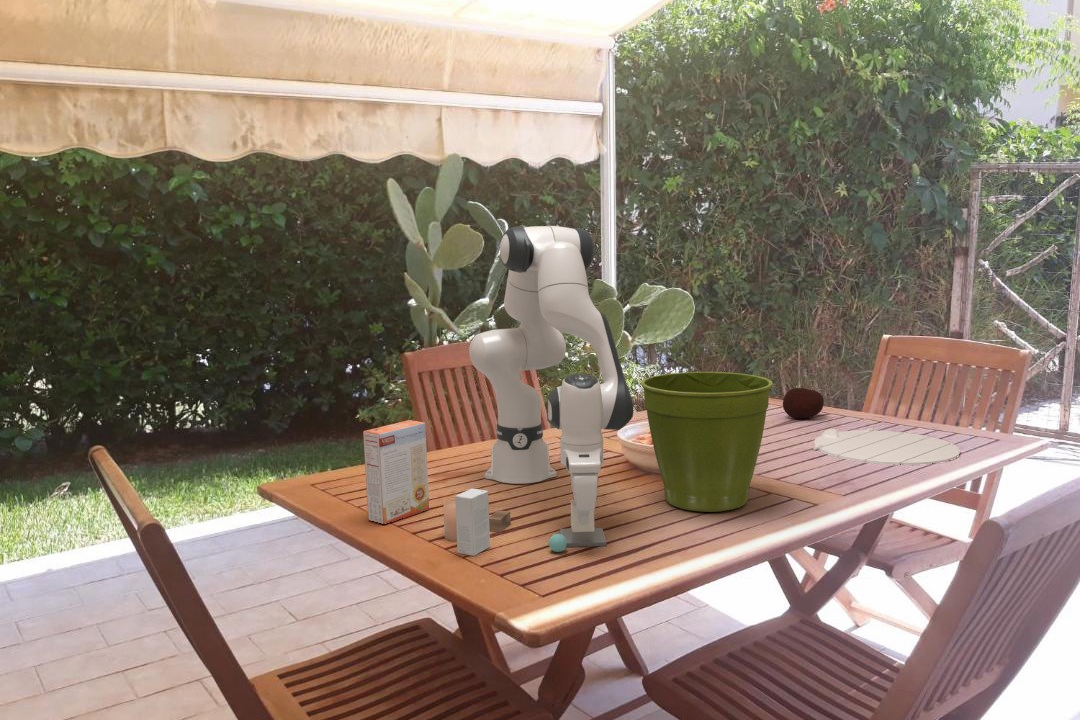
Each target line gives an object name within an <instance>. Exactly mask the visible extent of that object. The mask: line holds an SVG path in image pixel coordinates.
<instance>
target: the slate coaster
mask: <svg viewBox="0 0 1080 720" xmlns="http://www.w3.org/2000/svg"><path fill="white" fill-rule="evenodd" d="M559 534H561V535H563V536H564V537H565V538H566V540H567V546H566V548H574V547H575V548H581V546H587V547H606V546H607V540H606V537H605V532H604V530H603V527H594V532H572V528H559ZM605 545H606V546H605ZM579 546H580V547H579Z"/></svg>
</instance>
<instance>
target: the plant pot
mask: <svg viewBox="0 0 1080 720" xmlns="http://www.w3.org/2000/svg"><path fill="white" fill-rule="evenodd" d="M640 385H641V387H642V388H643V394H644V395H643V400H644V408H645V409H646V413H647V414H646V416H647V420H648V427H649V430H650V437H651V441H652V447H653V449H654V455H655V458H656V462H657V466H658V468H659V469H658V470H659V472H660V477H661V479H662V484H663V487H664V499H665V501H666V502H667V503H668V504H670V505H672V506H674V507H676V508H678V509H682V510H686V511H693V512H694V511H695V512H707V513H708V512H709V513H712V512H713V513H714V512H715V513H716V512H717V513H718V512H727V511H731V510H736V509H738V508H741V507H742V506H744V505H746V503H748V501H749V493H750V492H749V490H750V489H749V488H750V485H751V482H752V479H753V475H754V471H755V468H756V464H757V461H758V456H759V453H760V450H761V444H762V440H763V435H764V429H765V423H766V416H767V409H768V408H769V403H770V402H769V401H770V398H769V397H770V389H771V388H772V387H773V381H772V380H771V379H769V378H766V377H763V376H761V375H760V376H759V375H755V374H748V373H747V374H746V373H737V372H727V371H726V372H723V371H690V372H687V371H686V372H685V371H684V372H675V373H673V372H671V373H664V374H663V373H662V374H657V375H653V376H649V377H646V378H644V379H642V380H641V382H640Z"/></svg>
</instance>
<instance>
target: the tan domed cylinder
mask: <svg viewBox="0 0 1080 720" xmlns="http://www.w3.org/2000/svg"><path fill="white" fill-rule="evenodd" d="M443 525H444V526H443V527H444V528H443V529H444V530H443V531H444V535H443V536H444V539H445V540H447V541H448V542H449V541H450V542H456V543H457V529H456V505H455V499H452V500H449V501H446V502H444V503H443Z"/></svg>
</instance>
